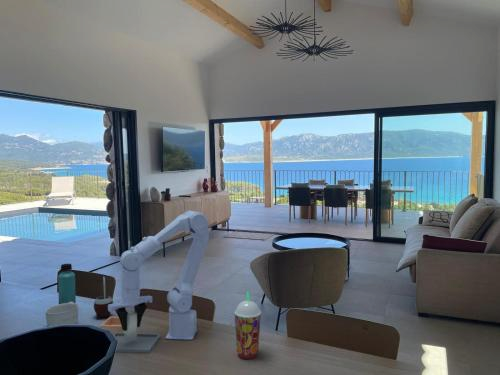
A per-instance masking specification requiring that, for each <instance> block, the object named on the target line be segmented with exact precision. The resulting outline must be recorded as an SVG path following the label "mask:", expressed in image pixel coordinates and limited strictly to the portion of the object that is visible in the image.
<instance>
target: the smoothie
mask: <svg viewBox="0 0 500 375" xmlns="http://www.w3.org/2000/svg"><path fill="white" fill-rule="evenodd" d="M249 296H250V292H249V291H246V300H242V301H241V302H239V303H238V305H237V306H236V309H235V310H234V312H233V313H234V326H235V341H236V344H235V346H236V353H237V354H238V356H239V357H240V358H242V359H249V360H250V359H254V358H256V357H257V355H258V353H259V344H260V343H259V342H260V328H261V314H262V311H261V309H260V307H259V306H258V304H257V303H256V302H255V301H252V300H250V297H249Z"/></svg>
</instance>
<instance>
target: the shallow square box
mask: <svg viewBox="0 0 500 375" xmlns="http://www.w3.org/2000/svg"><path fill="white" fill-rule="evenodd" d="M100 328H104V329H107V330H109V331H111V332H112V333H113V334H114V333H115V332H116V333H125V331H124V330H122V326H121V322H120V319H119V317H118V316H109V318H108V319H107V318H106V320H105V321H104V322H102V323H101V324H100V325H99V329H100ZM113 334H112V335H113Z"/></svg>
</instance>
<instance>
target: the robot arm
mask: <svg viewBox="0 0 500 375" xmlns="http://www.w3.org/2000/svg"><path fill="white" fill-rule="evenodd" d="M209 224H210V222H209V220H208V217H206V215H205V214H204V213H203V212H200V211H194V210H192V209H189V210H186V211H184V213H181V214H180V215H178V216H177V217H176V218H175V219H173V220H172V221H171V222H170V223H169V224H168V225H166V226H165V227H164V228H163V229H162V230H160V231H159V232H158V233H156V234H155V235H153V236H151V235H149V236H147V237H146V236H144V237H143V238H142V240H141V241H140V242H139V243H137V244H136V245H134V246H133V245H132V246H131V247H130V250H126V251H124V252H122V253H121V256H120V258H119V263H120V265H121V299H120V300H118V301H115V302H113V304H109V305H108V311H109V312H111V313H114V311H115V313H116V315H117V317H119V319H120V322H121V326H122V330H124V331H127V315H128V312H129V311H127V308H131V307H133V309H134V312H137V328H140V327H141V322H142V319H143V316H144V314H145V312H146V310H147V306H148V305H146V304H148V303H149V304H150V303H153V296H151V295H144V296H143V295H142V296H141V287H140V286H141V285H140V284H141V282H140V281H141V280H140V279H141V274H140V268H141V267H142V264H143V262H145V261H146V260H147V259H148V258H150V257H151V256H152V255H154V254H155V253H156V252H157V251H159V250H160V246H161V245H162V244H163V243H164V242H165V241H167V240H168V239H170V238H171V237H172V236H174V235H176V234H177V233H179V232H181V231H189V232H190V234H191V237H192V238H193V239H192V242H191V245H190V248H189V250H188V253H187V256H186V258H185V261H184V263H183V267H182V269H181V272H180V273H179V274H180V275H179V277H178V280H176V282H175V283H174V284H173V286H172V288H171V289H170V290H169V291H168V293H167V296H166V299H167V300H166V301H167V302H168V304H169V308H168V333H167V334H166V336H165V339H166V340H188V341H189V340H190V341H191V340H193V339H194V337H195V335H196V333H197V331H198V329H197V328H198V326H197V325H198V323H197V321H198V320H197V318H198V317H197V311H196V310H195V309H191V307H192V306H193V296H194V289H193V285H194V282H195V279H196V276H197V273H198V271H199V268H200V266H201V263H202V260H203V257H204V254H205V251H206V249H207V246H208V243H209V241H210V231H209Z"/></svg>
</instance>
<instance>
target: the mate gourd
mask: <svg viewBox="0 0 500 375" xmlns="http://www.w3.org/2000/svg"><path fill="white" fill-rule="evenodd" d="M102 278H103V284H102V286H103V295H101V296H98V297H96V299H95V300H94V303H93V309H94V312H95V315H96V320H100V319H104V318H105V319H106V320H107V319H108V318H109V317H110V315H111V313H112V312H109V311H108V305H109V304H113V303H114V300H113V299H112V296H110V295H109V296H108V295H106V277H105V276H103V277H102Z"/></svg>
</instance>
